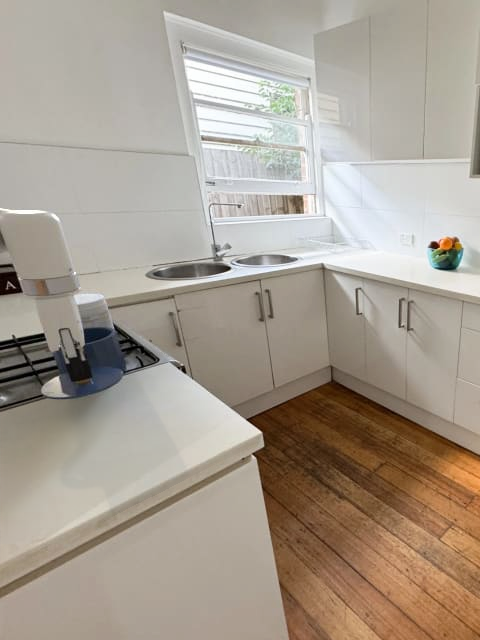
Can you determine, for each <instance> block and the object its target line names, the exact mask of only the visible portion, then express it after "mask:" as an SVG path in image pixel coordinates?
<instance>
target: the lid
mask: <svg viewBox="0 0 480 640" xmlns="http://www.w3.org/2000/svg"><path fill="white" fill-rule="evenodd" d="M91 370H92V371H91V372H92V376H93V377H92V378H91V379H86V380H82V381H77V382H71V379H70V376H69V374H68V373H65V374H62V375H61V374H59V375H57V376H55V377H53V378H52V379H50V380H48V381H47V382H46V383H44V384H43V385H42V386H41V388H40V393H41V395H42V396H43V397H44V398H46V399H50V400H60V401H61V400H64V401H65V400H73V399H80V398H85V397H89V396H92V395H95V394H98V393H101V392H104V391H105V390H108V389H110V388H112V387H114V386H115V385H117V384H119V383H120V382H121V381H122V380H123V377H124V373H122V371H121V370H120V369H118V368H115V367H108V366H99V367H91Z"/></svg>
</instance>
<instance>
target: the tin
mask: <svg viewBox="0 0 480 640" xmlns="http://www.w3.org/2000/svg"><path fill="white" fill-rule="evenodd" d="M83 332H84V342H85V345H84V346H83V349H84V353H86V354H87V357H88V360H89V363H90V366H91V367H99V366H108V367H115V368H118V369H120V370H121V371H122V373H123V374H124V373H125V372H126V371H127V364H126V361H125V357H124V354H123V351H122V348H121V345H120V341H119V339H118V335H117V332H116V329H115V328H114V329H112V328H109V327H91V328H84V329H83ZM51 354H52V356H53V358H54V361H55V363H56V367H57V368H58V371H59V373H60V374H59V375H62V374H65V373H68V371H67V368H66V365H65V363H66V361H65V359H64V356H63V353H62V351H61V347H59V351H55V353H53V352H51Z"/></svg>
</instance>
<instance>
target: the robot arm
mask: <svg viewBox="0 0 480 640" xmlns="http://www.w3.org/2000/svg"><path fill="white" fill-rule="evenodd" d="M68 245H69V244H68V242H67V239H66V236H65V232H64V229H63V226H62V223H61V221H60V219H59V217H58V216H57V214H55V213H53V212H50V211H45V210H11V209H6V208H0V254H1V255H2V254H5V253H8V255H9V257H10V260H11V263H12V265H13V269H14V271H15V274H16V277H17V280H18V282H19V285H20V288H21V291H22V293H23V296H24V298H26V299H31V300H34V301H33V302H34V305H35V309H36V313H37V315H38V319H39V322H40V324H41V328H42V331H43V334H44V337H45V340H46V344H47V346H48V347H47V348H48V350H49V352H51V353H52V352H53V353H55V351H59V347H61V351H62V353H63V356H64V359H65V361H66V363H65V365H66V368H67V371H68V374H69V376H70V379H71V382H77V381H82V380H86V379H91V378H92V377H93V376H92V372H91V371H92V370H91V366H90V363H89V360H88V357H87V354H86V353H84V349H83V346H84V345H85V342H84V332H83V326H82V322H81V317H80V314H79V310H78V307H77V303H76V300H75V297H74V295H77V294H79V293H80V292H81V291H82V288H81V285H80V284H81V283H80V282H79V279H78V275H77V272H76V269H75V265H74V262H73V259H72V255H71V252H70V249H69V246H68ZM53 353H52V354H53Z"/></svg>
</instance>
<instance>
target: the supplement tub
mask: <svg viewBox="0 0 480 640" xmlns="http://www.w3.org/2000/svg"><path fill="white" fill-rule="evenodd" d="M74 297H75V300H76V303H77V307H78V310H79V314H80V317H81V322H82V326H83V329H84V328H91V327H109V328H112V329H115V327H114V324H113V320H112V317H111V313H110V310H109V306H108V303H107V300H106V299H105V296H104V295H103V294H100V293H81V294H79V293H78V294H74Z"/></svg>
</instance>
